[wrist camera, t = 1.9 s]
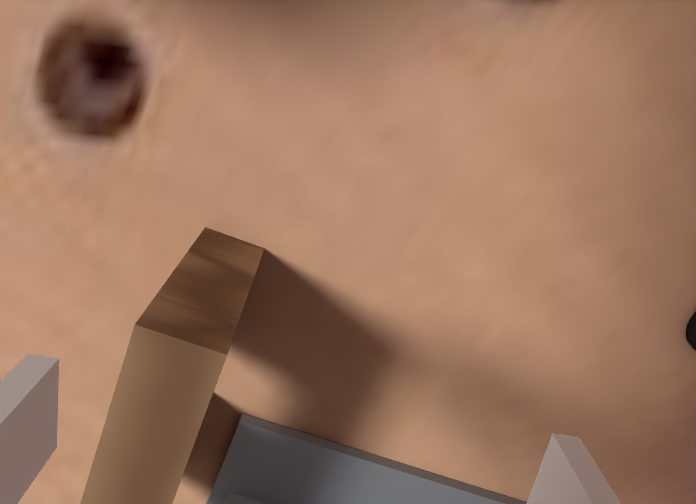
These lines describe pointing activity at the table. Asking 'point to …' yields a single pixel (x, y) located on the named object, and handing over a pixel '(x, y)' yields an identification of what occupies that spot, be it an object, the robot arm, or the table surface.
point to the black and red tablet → (691, 331)
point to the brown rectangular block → (172, 373)
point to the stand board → (326, 473)
